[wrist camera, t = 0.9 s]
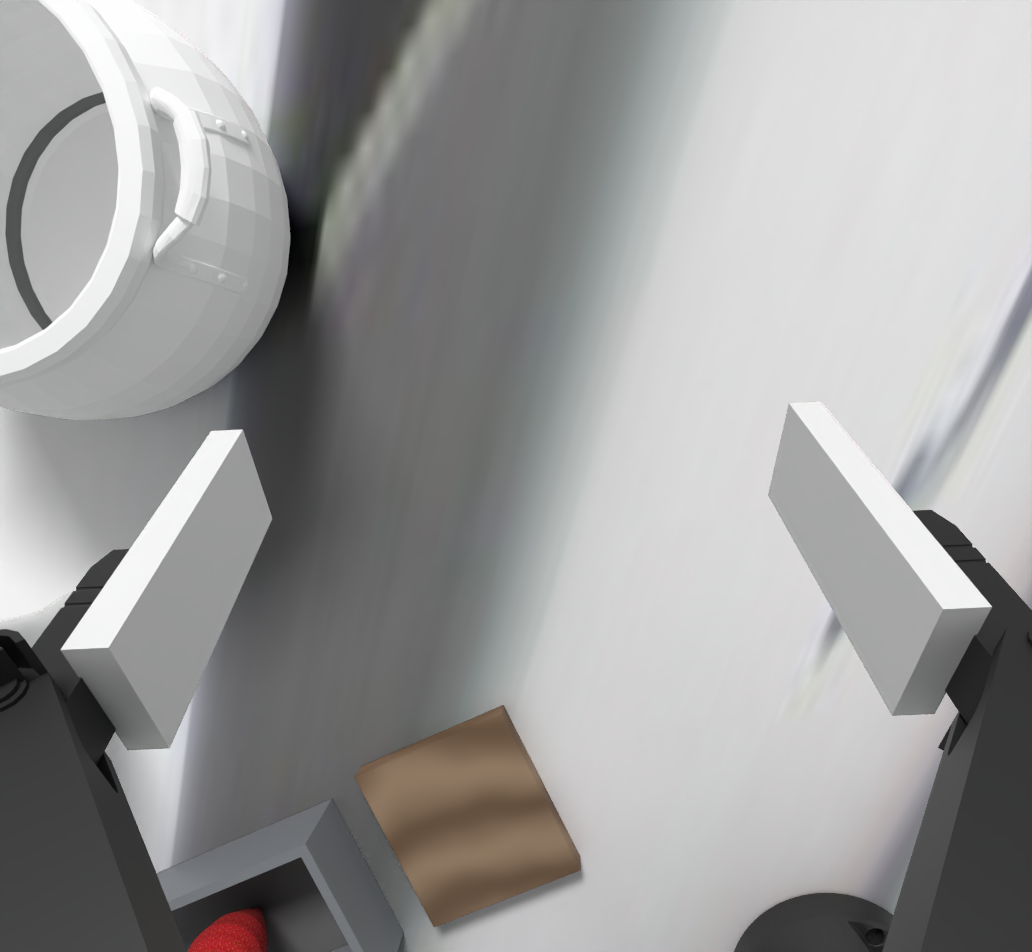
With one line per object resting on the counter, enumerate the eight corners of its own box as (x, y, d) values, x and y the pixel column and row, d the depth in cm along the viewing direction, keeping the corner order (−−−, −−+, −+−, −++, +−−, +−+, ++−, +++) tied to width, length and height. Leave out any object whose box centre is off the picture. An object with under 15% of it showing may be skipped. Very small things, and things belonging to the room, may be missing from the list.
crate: (403, 932, 55) (385, 991, 49) (184, 1018, 57) (144, 1083, 52) (331, 798, 54) (305, 843, 48) (112, 892, 56) (63, 945, 51)
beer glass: (64, 677, 54) (-126, 782, 39) (32, 599, 54) (-173, 676, 39) (138, 654, 53) (-27, 753, 39) (106, 575, 53) (-74, 644, 38)
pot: (335, 56, 47) (201, -141, 30) (331, 426, 50) (208, 441, 33) (-43, 52, 49) (-371, -133, 32) (-23, 407, 52) (-312, 413, 35)
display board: (580, 856, 52) (580, 870, 51) (437, 912, 54) (434, 927, 53) (503, 705, 51) (501, 714, 50) (360, 766, 53) (354, 777, 52)
